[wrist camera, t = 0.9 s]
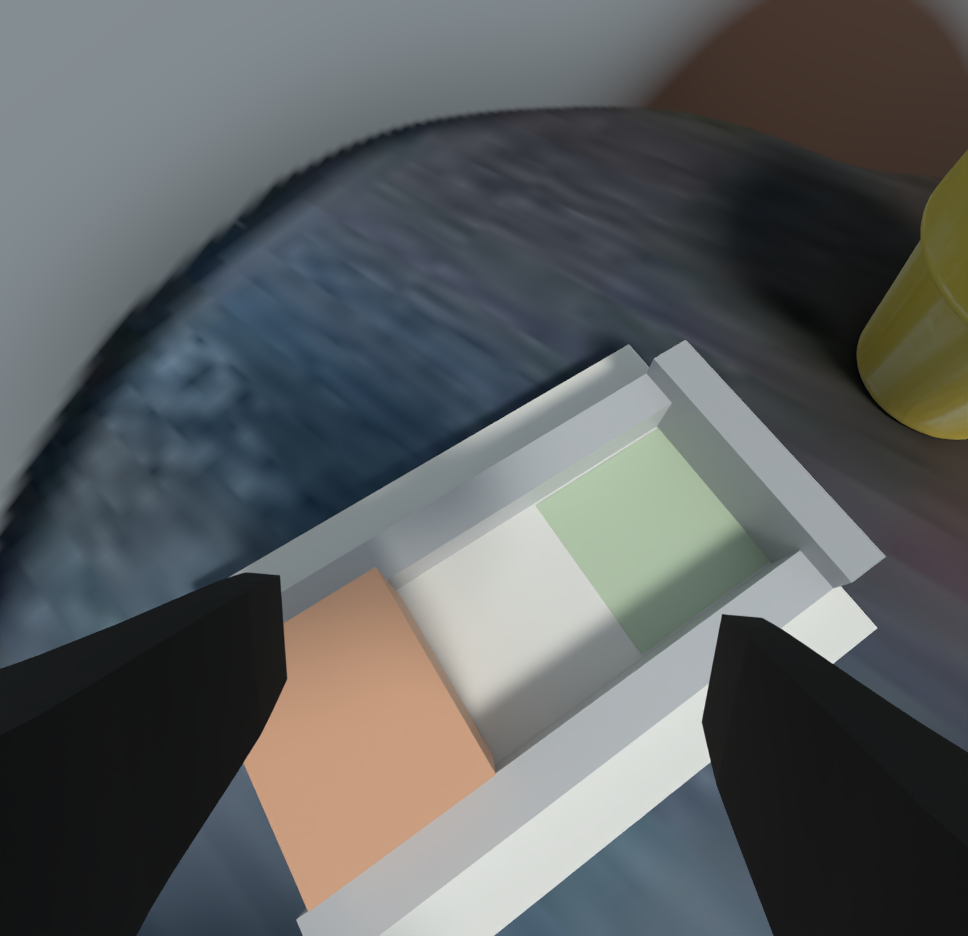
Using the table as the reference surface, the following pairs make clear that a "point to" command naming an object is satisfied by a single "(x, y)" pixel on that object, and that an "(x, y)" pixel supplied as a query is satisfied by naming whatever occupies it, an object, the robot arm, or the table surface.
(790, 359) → the table surface
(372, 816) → the block
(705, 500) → the chute
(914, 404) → the plant pot
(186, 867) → the table surface
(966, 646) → the table surface
